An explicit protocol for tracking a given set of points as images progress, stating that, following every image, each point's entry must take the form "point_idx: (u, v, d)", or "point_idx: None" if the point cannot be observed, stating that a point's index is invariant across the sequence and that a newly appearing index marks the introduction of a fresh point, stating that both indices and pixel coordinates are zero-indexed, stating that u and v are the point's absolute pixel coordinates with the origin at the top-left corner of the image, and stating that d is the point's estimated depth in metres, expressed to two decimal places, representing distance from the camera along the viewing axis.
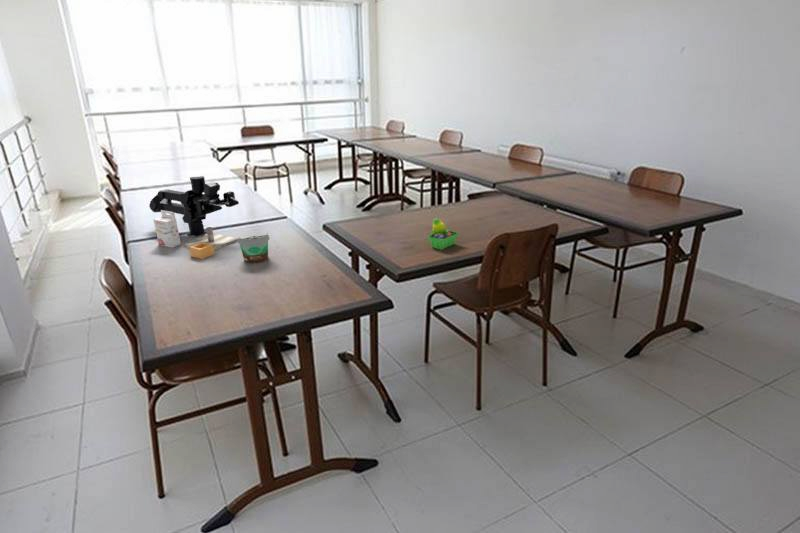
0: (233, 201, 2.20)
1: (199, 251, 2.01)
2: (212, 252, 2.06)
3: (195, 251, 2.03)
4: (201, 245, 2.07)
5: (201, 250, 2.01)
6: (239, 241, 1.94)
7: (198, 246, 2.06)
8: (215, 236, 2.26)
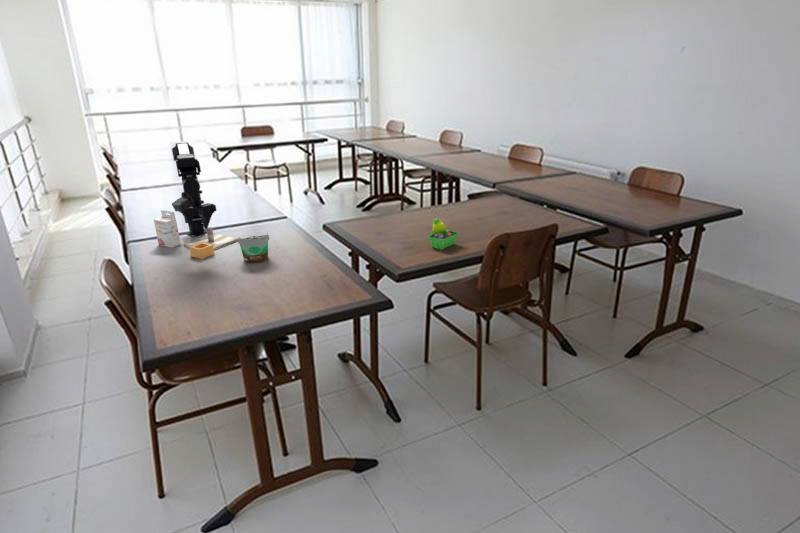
0: None
1: (199, 251, 2.01)
2: (212, 252, 2.06)
3: (195, 251, 2.03)
4: (201, 245, 2.07)
5: (201, 250, 2.01)
6: (239, 241, 1.94)
7: (198, 246, 2.06)
8: (215, 236, 2.26)
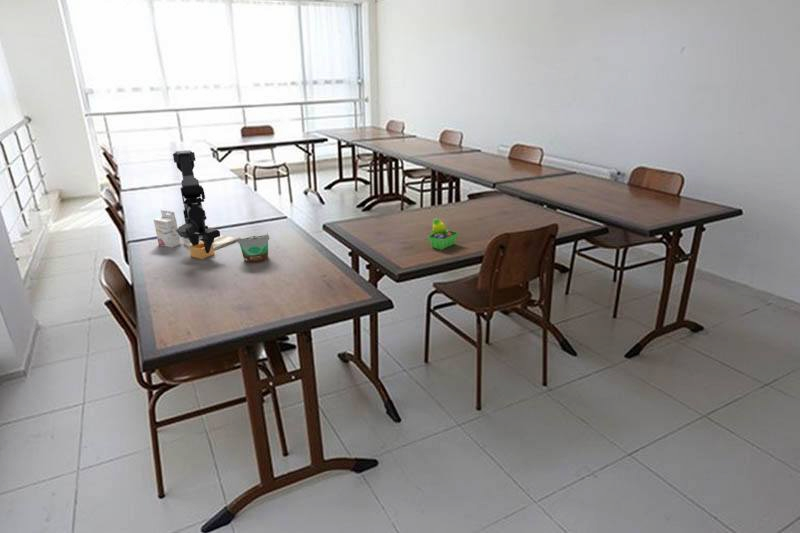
0: None
1: (199, 251, 2.01)
2: (212, 252, 2.06)
3: (195, 251, 2.03)
4: (201, 245, 2.07)
5: (201, 250, 2.01)
6: (239, 241, 1.94)
7: (198, 246, 2.06)
8: None
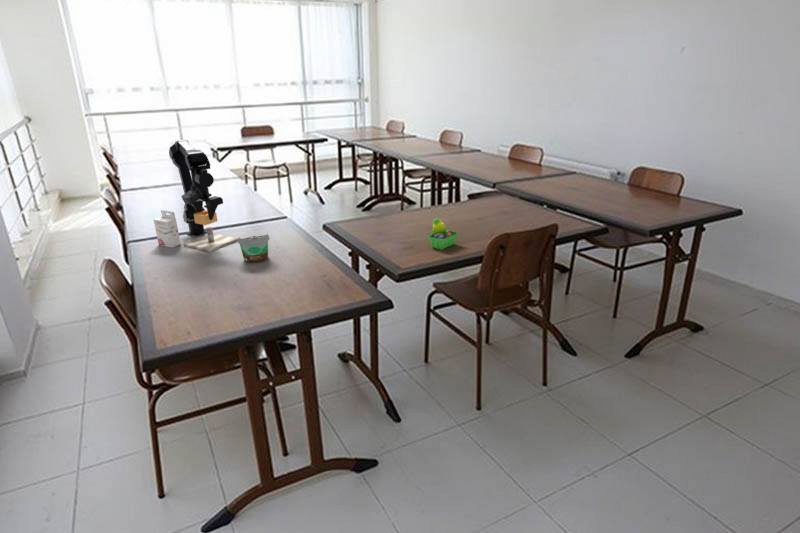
0: None
1: (203, 217, 2.10)
2: (215, 219, 2.15)
3: (199, 218, 2.11)
4: (205, 212, 2.16)
5: (205, 217, 2.10)
6: (239, 241, 1.94)
7: (202, 213, 2.15)
8: (215, 236, 2.26)
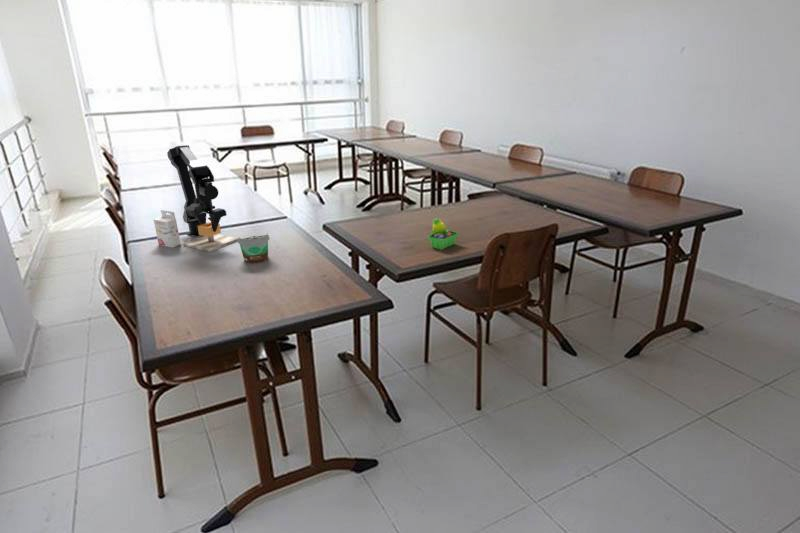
0: None
1: (206, 229, 2.14)
2: (219, 231, 2.19)
3: (203, 229, 2.15)
4: (208, 224, 2.20)
5: (208, 228, 2.14)
6: (239, 241, 1.94)
7: (205, 225, 2.19)
8: (215, 236, 2.26)
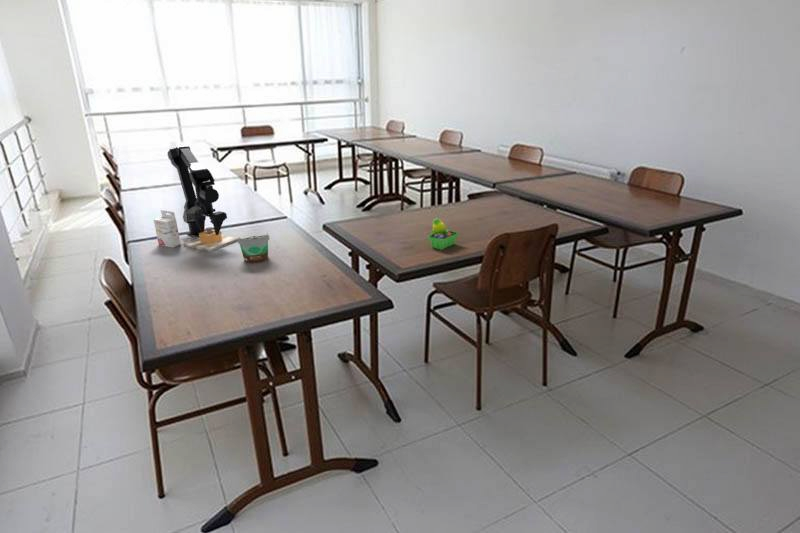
0: None
1: (208, 237, 2.15)
2: (220, 238, 2.20)
3: (204, 237, 2.16)
4: None
5: (210, 236, 2.15)
6: (239, 241, 1.94)
7: None
8: None
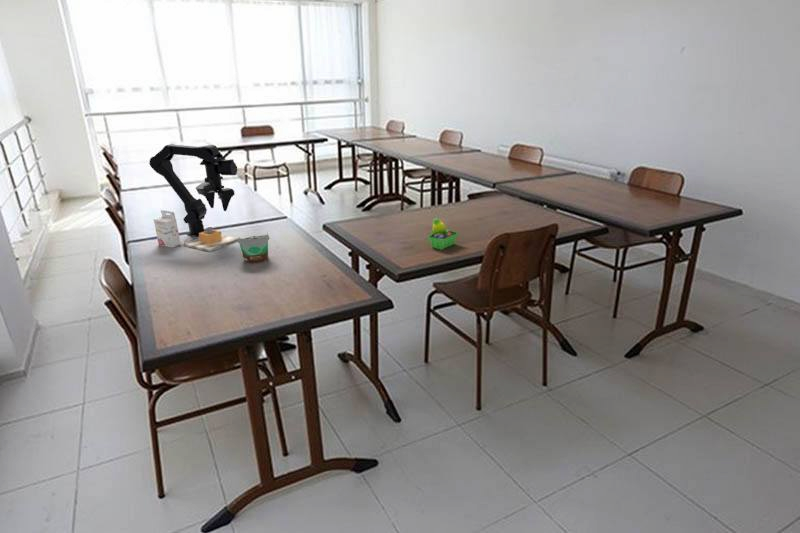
0: None
1: (208, 237, 2.15)
2: (220, 238, 2.20)
3: (204, 237, 2.16)
4: None
5: (210, 236, 2.15)
6: (239, 241, 1.94)
7: None
8: None
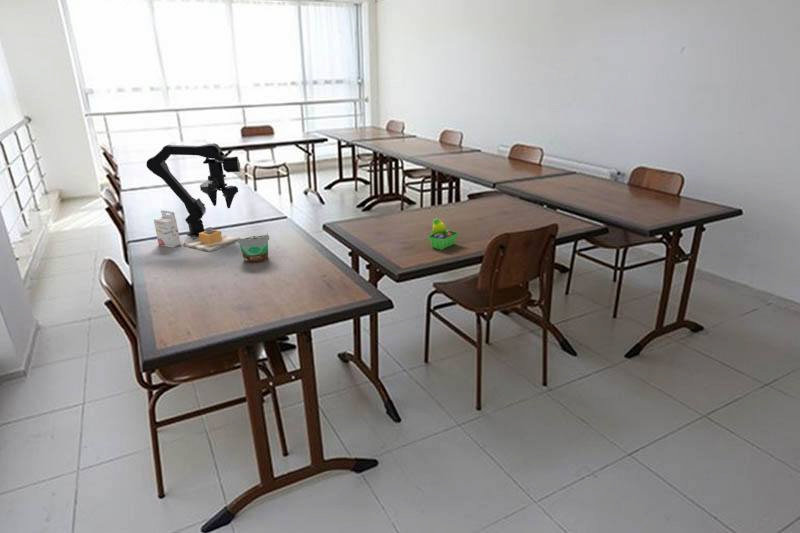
0: None
1: (208, 237, 2.15)
2: (220, 238, 2.20)
3: (204, 237, 2.16)
4: None
5: (210, 236, 2.15)
6: (239, 241, 1.94)
7: None
8: None
